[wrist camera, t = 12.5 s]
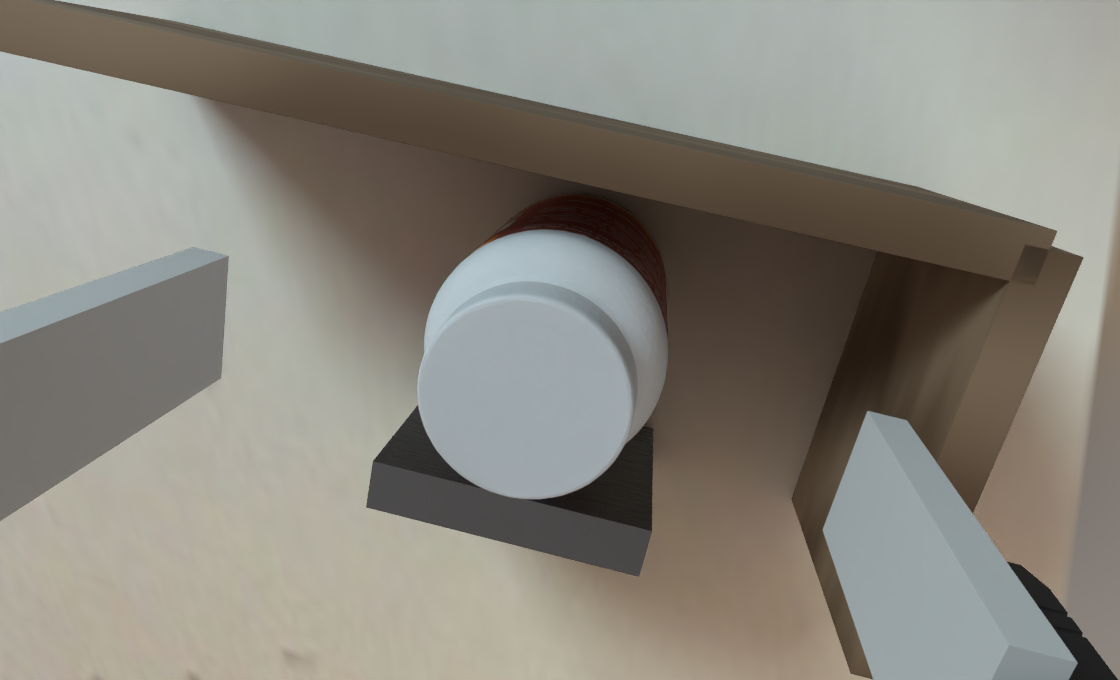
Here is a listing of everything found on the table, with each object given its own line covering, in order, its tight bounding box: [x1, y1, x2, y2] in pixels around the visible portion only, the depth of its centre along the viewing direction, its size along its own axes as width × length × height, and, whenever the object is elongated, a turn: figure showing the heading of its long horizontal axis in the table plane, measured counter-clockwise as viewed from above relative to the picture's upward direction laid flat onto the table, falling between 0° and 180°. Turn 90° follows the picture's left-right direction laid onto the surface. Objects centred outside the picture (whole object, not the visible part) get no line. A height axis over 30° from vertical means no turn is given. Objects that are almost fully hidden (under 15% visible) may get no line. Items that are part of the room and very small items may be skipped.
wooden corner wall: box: [0, 0, 1083, 679], centre depth 22 cm, size 12×26×9 cm, turn 78°
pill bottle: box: [417, 194, 669, 499], centre depth 21 cm, size 6×6×11 cm
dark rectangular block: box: [366, 406, 653, 576], centre depth 25 cm, size 2×8×7 cm, turn 78°
